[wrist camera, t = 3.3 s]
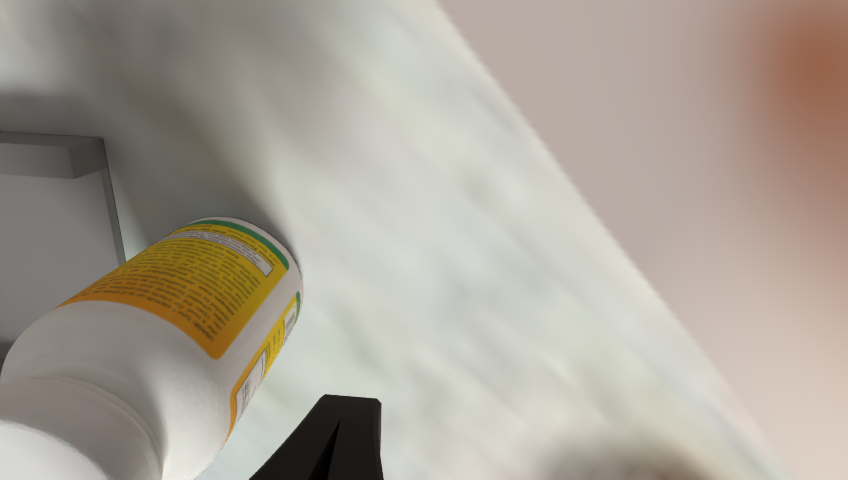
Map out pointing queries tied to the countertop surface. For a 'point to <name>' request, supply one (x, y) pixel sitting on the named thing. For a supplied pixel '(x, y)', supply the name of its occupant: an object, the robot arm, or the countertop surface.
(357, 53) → the countertop surface
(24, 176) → the stand
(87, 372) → the supplement bottle
